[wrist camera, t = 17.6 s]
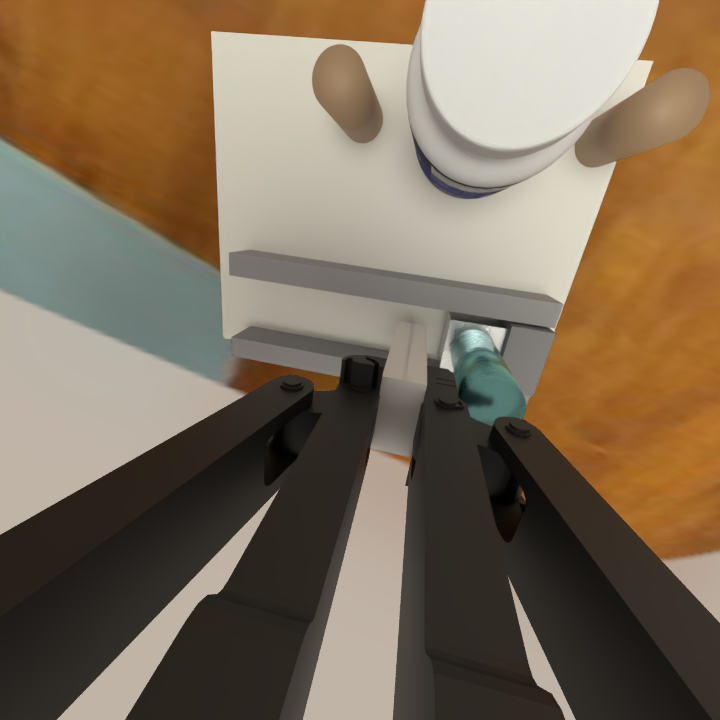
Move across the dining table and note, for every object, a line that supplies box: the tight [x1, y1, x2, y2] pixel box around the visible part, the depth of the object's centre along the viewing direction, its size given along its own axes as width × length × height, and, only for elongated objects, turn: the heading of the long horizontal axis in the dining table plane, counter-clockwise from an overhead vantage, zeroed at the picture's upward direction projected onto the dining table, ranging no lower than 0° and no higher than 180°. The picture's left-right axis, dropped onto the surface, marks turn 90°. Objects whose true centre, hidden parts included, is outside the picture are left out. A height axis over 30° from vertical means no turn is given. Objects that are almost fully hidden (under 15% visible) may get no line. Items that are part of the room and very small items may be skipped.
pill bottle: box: [406, 0, 659, 199], centre depth 12 cm, size 6×6×10 cm
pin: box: [438, 311, 526, 426], centre depth 16 cm, size 3×3×8 cm
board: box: [211, 31, 710, 406], centre depth 17 cm, size 20×16×6 cm
